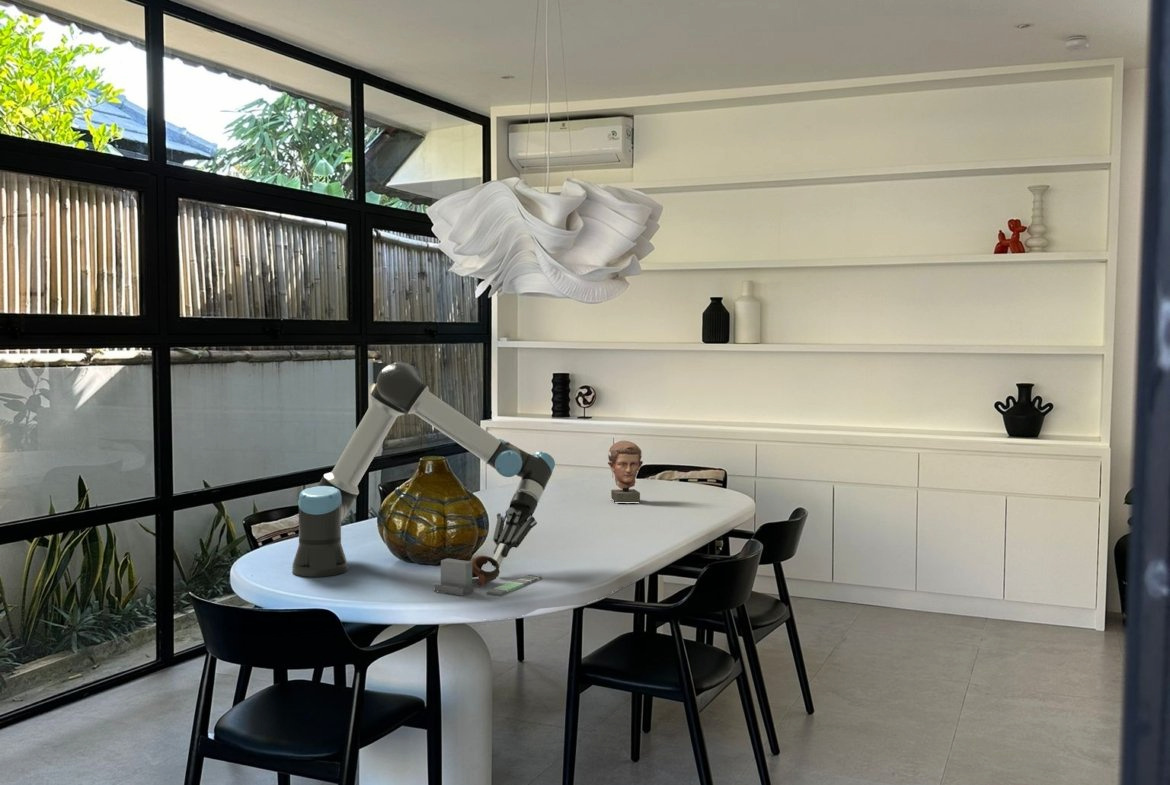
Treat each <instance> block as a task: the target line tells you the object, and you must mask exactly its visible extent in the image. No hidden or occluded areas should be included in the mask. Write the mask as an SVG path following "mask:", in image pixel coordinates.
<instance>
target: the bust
mask: <svg viewBox="0 0 1170 785" xmlns="http://www.w3.org/2000/svg"><path fill="white" fill-rule="evenodd" d="M607 456H608V457H607V458H608V462H607V464H608V466H609V467H610V470H611V472H612V473H613V475H614V482H615V485H616V486H617V487H618V488H619V489H611V491H610V492H611V498H612V499H613V500H614V501H615V502H640V503H641V493H640V491H638V490H636V489H635V488H633V487H635V484H636V477H637V474H638V471H639V470H640V468H641V467H642V465H643V464H644V462H643V460H641V459H642V458H643V457H642V456H643V454H642V450H641V448H640V447H639V446H638V445H637V444H636V443H634V442H633V441H629V440H619V441H617V442H615V443H614V444H612V445H611V446H610V448H609V450H608V455H607ZM615 502H614V503H615Z"/></svg>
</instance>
